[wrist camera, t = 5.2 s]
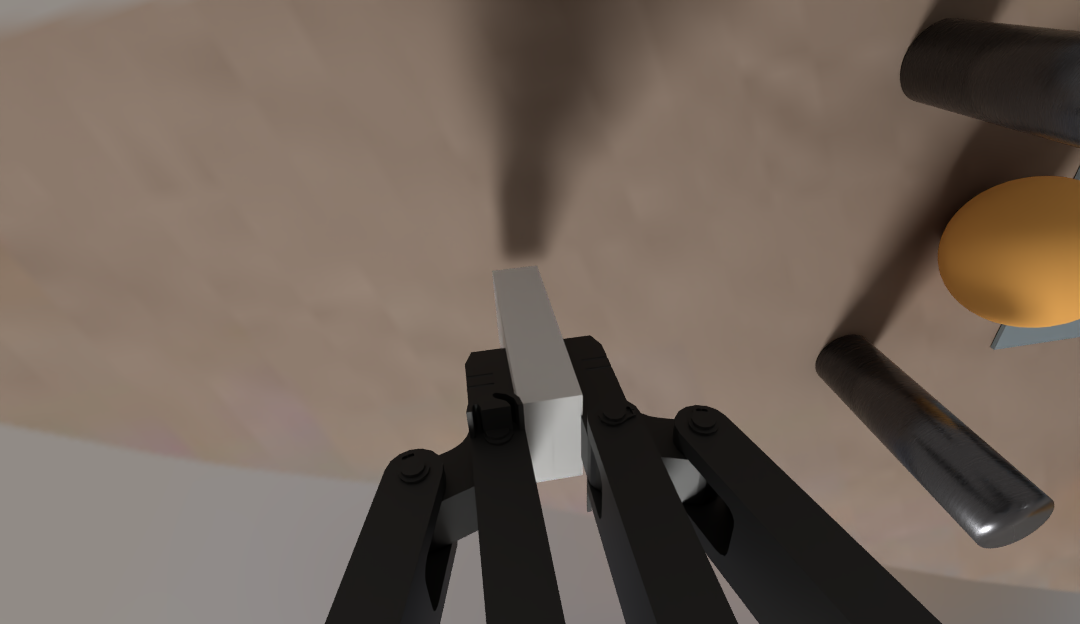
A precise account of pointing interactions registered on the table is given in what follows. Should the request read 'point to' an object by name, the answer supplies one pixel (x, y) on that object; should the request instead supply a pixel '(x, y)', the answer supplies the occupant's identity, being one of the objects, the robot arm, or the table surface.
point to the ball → (1017, 253)
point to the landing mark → (1035, 330)
